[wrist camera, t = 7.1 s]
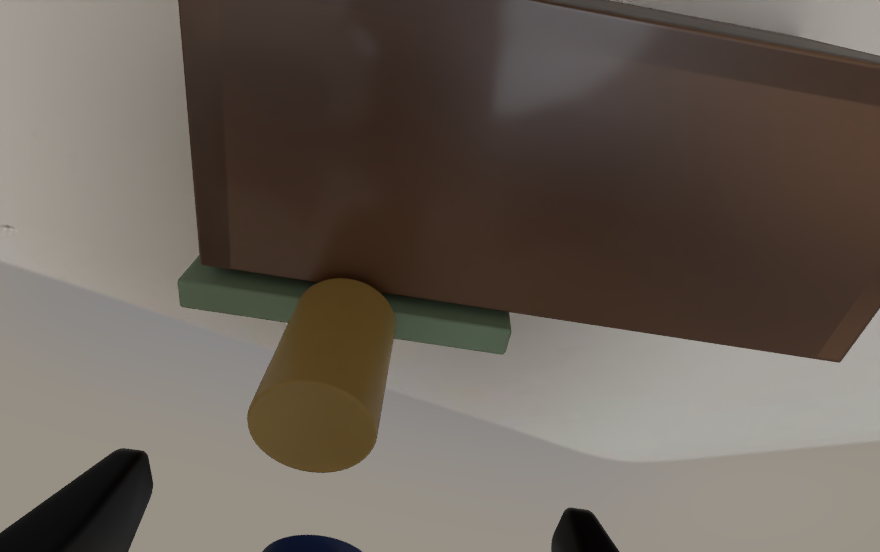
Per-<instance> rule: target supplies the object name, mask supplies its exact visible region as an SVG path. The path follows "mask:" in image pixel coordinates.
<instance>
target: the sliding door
mask: <svg viewBox="0 0 880 552" xmlns="http://www.w3.org/2000/svg"><path fill="white" fill-rule="evenodd" d="M178 289H179V298H180V305H181V306H182V307H186V308H192V309H199V310H206V311H213V312H219V313H226V314H233V315H239V316H246V317H253V318H260V319H266V320H273V321H280V322H287V323H288V325H287V327H286V329H285V331H284V334H283V336H282V338H281V340H280V342H279V344H278V347H277V349H276V351H275V353H274V355H273V358H272V360H271V362H270V364H269V366H268V368H267V370H266V373H265V375H264V377H263V379H262V381H261V383H260V385H259V388H258V390H257V392H256V394H255V396H254V399H253V401H252V403H251V405H250V407H249V411H248V418H247V420H248V428H249V431H250V434H251V436H252V438H253V440H254V441H255V443H256V444H257V445H258V446H259V447H260V449H261V450H262V451H264V452H265V453H266V454H267V455H269V456H270V457H271V458H273V459H275V460H276V461H278V462H280V463H282V464H284V465H286V466H289V467H292V468H295V469H298V470H302V471H308V472H317V473H320V472H321V473H326V472H335V471H341V470H344V469H347V468H350V467H352V466H354V465H356V464H358V463H359V462H361V461H362V460H363V459H364V458H366V456H367V455H368V454H369V453H370V452H371V450H372V449H373V447H374V445H375V442H376V439H377V433H378V427H379V422H380V416H381V410H382V404H383V398H384V392H385V386H386V380H387V374H388V369H389V363H390V357H391V351H392V345H393V339H401V340H408V341H415V342H421V343H428V344H435V345H442V346H448V347H455V348H462V349H469V350H475V351H482V352H489V353H495V354H504V353H505V352H506V348H507V345H508V341H509V338H510V335H511V325H510V318H509V312H506V311H500V310H493V309H487V308H480V307H474V306H467V305H461V304H454V303H448V302H441V301H435V300H428V299H422V298H415V297H409V296H402V295H396V294H389V293H382V292H378V291H377V290H376V289H374V288H373V287H371V286H369V285H367V284H365V283H363V282H360V281H357V280H352V279H345V278H335V279H329V280H325V281H322V282H319V283H317V282H311V281H304V280H298V279H291V278H285V277H278V276H272V275H265V274H259V273H252V272H246V271H239V270H233V269H226V268H219V267H213V266H206V265H201V263H200V255H199V256H198V257H197V259H196V260H195V261H194V262H193V263H192V264H191V266H190V267H189V268H188V269H187V270H186V271H185V273H184V274H183V275H182V276H181V277H180V278H179V280H178Z"/></svg>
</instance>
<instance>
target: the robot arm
mask: <svg viewBox="0 0 880 552" xmlns="http://www.w3.org/2000/svg"><path fill="white" fill-rule="evenodd" d="M152 489H153V481H152V475H151V470H150V464H149V459H148V455H147V454H146V453H145V452H144V451H140V450H132V449H125V448H123V449H118V450H116V451H114V452H112V453H111V454H110V455H109V456H107V457H105V458H104V459H103V460H101V461H100V462H98V463H97V464H96V465H94V466H93V467H92V468H90V469H89V470H87V471H86V472H84V473H83V474H82V475H80V476H79V477H78V478H76V479H75V480H73V481H72V482H71V483H69V484H68V485H66V486H65V487H64V488H62V489H61V490H59V491H58V492H57V493H55V494H54V495H52V496H51V497H50V498H48V499H47V500H45V501H44V502H43V503H41V504H40V505H39V506H37V507H36V508H34V509H33V510H32V511H30V512H29V513H27V514H26V515H25V516H23V517H22V518H20V519H19V520H18V521H16V522H15V523H14V524H12V525H11V526H9V527H8V528H7V529H5V530H4V531H2V532H1V533H0V552H128V550H129V548H130V546H131V543H132V541H133V538H134V536H135V533H136V531H137V529H138V526H139V524H140V521H141V519H142V517H143V514H144V511H145V509H146V507H147V504H148V502H149V500H150V497H151V494H152ZM551 548H552V549H551V550H552V552H619V551H618V549H617V548H616V546H615V545H614V543H613V542H612V540H611V539H610V537H609V536H608V534H607V533H606V531H605V530H604V529H603V527H602V525H601V524H600V523H599V521H598V520H597V518H596V517H595V515H594V514H593V513H592V512H590V511H589V510H584V509H577V508H567V509H566V510H565V511H564V513H563V515H562V517H561V519H560V522H559V524H558V526H557V528H556V530H555V532H554V535H553V538H552V547H551Z"/></svg>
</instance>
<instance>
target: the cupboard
mask: <svg viewBox="0 0 880 552" xmlns="http://www.w3.org/2000/svg"><path fill="white" fill-rule="evenodd" d="M178 2H179V14H180V26H181V38H182V50H183V62H184V74H185V86H186V98H187V110H188V122H189V134H190V145H191V157H192V169H193V181H194V193H195V205H196V217H197V229H198V241H199V253H200V263H201V265H206V266H213V267H219V268H226V269H233V270H239V271H246V272H252V273H259V274H265V275H272V276H278V277H285V278H291V279H298V280H304V281H311V282H317V283H319V282H322V281H325V280H329V279H335V278H345V279H352V280H357V281H360V282H363V283H365V284H367V285H369V286H371V287H373V288H374V289H376V290H377V291H378V292H382V293H389V294H396V295H402V296H409V297H415V298H422V299H428V300H435V301H441V302H448V303H454V304H461V305H467V306H474V307H480V308H487V309H493V310H500V311H506V312H513V313H519V314H526V315H532V316H539V317H545V318H552V319H558V320H565V321H572V322H578V323H585V324H591V325H598V326H604V327H611V328H617V329H624V330H630V331H637V332H643V333H650V334H656V335H663V336H669V337H676V338H682V339H689V340H695V341H702V342H708V343H715V344H721V345H728V346H735V347H741V348H748V349H754V350H761V351H767V352H774V353H780V354H787V355H793V356H800V357H806V358H813V359H819V360H826V361H832V362H841V361H842V359H843V358H844V356H845V355H846V354H847V352H848V351H849V350H850V348H851V347H852V345H853V344H854V343H855V341H856V340H857V339H858V337H859V336H860V334H861V333H862V332H863V330H864V329H865V328H866V326H867V325H868V324H869V322H870V321H871V319H872V318H873V317H874V315H875V314H876V313H877V311H878V310H879V308H880V56H877V55H873V54H869V53H865V52H860V51H856V50H852V49H848V48H844V47H840V46H835V45H831V44H827V43H823V42H819V41H814V40H810V39H806V38H802V37H797V36H792V35H787V34H781V33H776V32H771V31H766V30H760V29H755V28H750V27H745V26H739V25H734V24H729V23H724V22H719V21H713V20H708V19H703V18H698V17H692V16H687V15H682V14H677V13H671V12H666V11H661V10H656V9H650V8H645V7H640V6H635V5H630V4H624V3H619V2H614V1H609V0H178Z"/></svg>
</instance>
